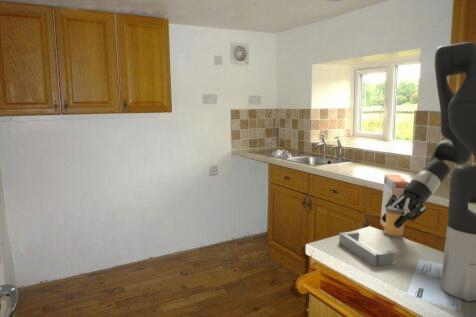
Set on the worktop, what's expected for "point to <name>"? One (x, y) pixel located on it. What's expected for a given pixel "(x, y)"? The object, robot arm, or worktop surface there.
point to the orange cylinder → (391, 217)
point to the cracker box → (392, 192)
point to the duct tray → (365, 249)
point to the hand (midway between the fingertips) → (389, 223)
